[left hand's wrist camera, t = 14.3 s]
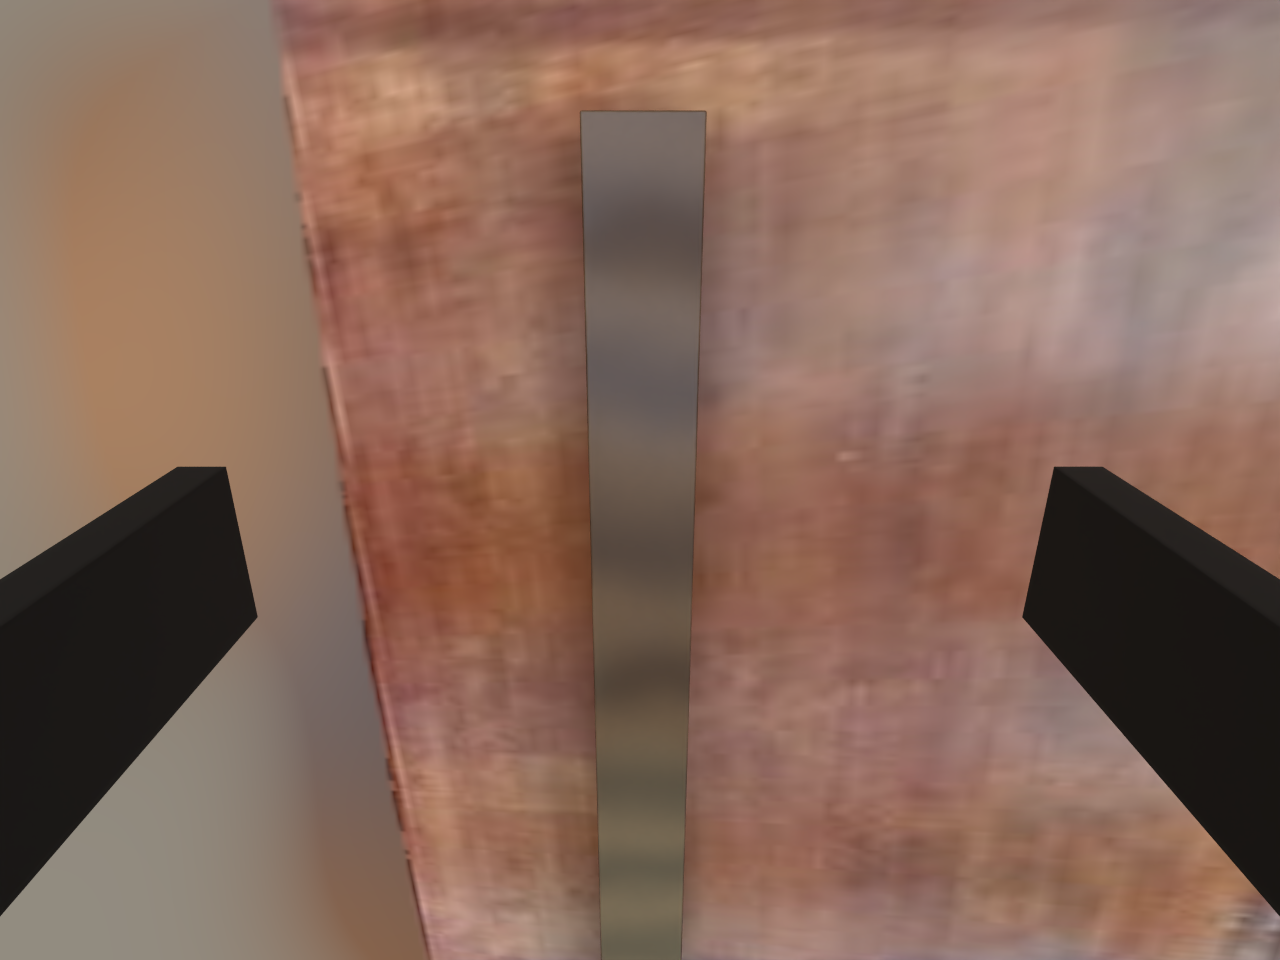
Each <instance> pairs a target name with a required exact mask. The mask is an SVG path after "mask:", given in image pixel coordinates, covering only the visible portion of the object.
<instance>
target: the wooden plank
mask: <svg viewBox="0 0 1280 960" xmlns="http://www.w3.org/2000/svg"><path fill="white" fill-rule="evenodd" d="M706 114H707V112H706V111H580V136H581V176H582V216H583V256H584V296H585V336H586V376H587V415H588V455H589V495H590V535H591V575H592V615H593V655H594V695H595V734H596V774H597V814H598V854H599V894H600V934H601V960H681V952H682V919H683V885H684V852H685V818H686V785H687V751H688V718H689V684H690V651H691V617H692V583H693V550H694V516H695V483H696V449H697V416H698V382H699V349H700V315H701V282H702V248H703V215H704V181H705V148H706Z"/></svg>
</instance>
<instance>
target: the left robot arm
mask: <svg viewBox="0 0 1280 960" xmlns="http://www.w3.org/2000/svg"><path fill="white" fill-rule="evenodd" d="M256 618H257V612H256V607H255V602H254V598H253V593H252V588H251V584H250V579H249V574H248V569H247V565H246V560H245V555H244V550H243V546H242V541H241V536H240V531H239V527H238V522H237V518H236V513H235V508H234V503H233V498H232V494H231V489H230V484H229V479H228V475H227V470H226V467H176V468H175V469H173V470H172V471H170V472H169V473H167V474H166V475H164V476H162V477H161V478H159V479H158V480H156V481H154V482H153V483H151V484H150V485H148V486H147V487H145V488H144V489H142V490H140V491H139V492H137V493H136V494H134V495H132V496H131V497H129V498H128V499H126V500H125V501H123V502H121V503H120V504H118V505H117V506H115V507H114V508H112V509H110V510H109V511H107V512H106V513H104V514H103V515H101V516H99V517H98V518H96V519H95V520H93V521H92V522H90V523H88V524H87V525H85V526H84V527H82V528H81V529H79V530H77V531H76V532H74V533H73V534H71V535H69V536H68V537H66V538H65V539H63V540H62V541H60V542H58V543H57V544H55V545H54V546H52V547H51V548H49V549H47V550H46V551H44V552H43V553H41V554H40V555H38V556H36V557H35V558H33V559H32V560H30V561H29V562H27V563H26V564H24V565H22V566H21V567H19V568H18V569H16V570H15V571H13V572H11V573H10V574H8V575H7V576H5V577H3V578H2V579H0V916H1V915H2V914H3V912H4V911H5V910H6V909H7V908H8V907H9V905H10V904H11V903H12V902H13V901H14V900H15V898H16V897H17V896H18V895H19V894H20V893H21V891H22V890H23V889H24V888H25V887H26V886H27V885H28V883H29V882H30V881H31V880H32V879H33V878H34V876H35V875H36V874H37V873H38V872H39V871H40V869H41V868H42V867H43V866H44V865H45V864H46V862H47V861H48V860H49V859H50V858H51V857H52V855H53V854H54V853H55V852H56V851H57V850H58V848H59V847H60V846H61V845H62V844H63V843H64V842H65V840H66V839H67V838H68V837H69V836H70V834H71V833H72V832H73V831H74V830H75V829H76V828H77V826H78V825H79V824H80V823H81V822H82V821H83V819H84V818H85V817H86V816H87V815H88V814H89V812H90V811H91V810H92V809H93V808H94V807H95V805H96V804H97V803H98V802H99V801H100V800H101V798H102V797H103V796H104V795H105V794H106V793H107V792H108V790H109V789H110V788H111V787H112V786H113V785H114V783H115V782H116V781H117V780H118V779H119V778H120V776H121V775H122V774H123V773H124V772H125V771H126V769H127V768H128V767H129V766H130V765H131V764H132V762H133V761H134V760H135V759H136V758H137V757H138V756H139V754H140V753H141V752H142V751H143V750H144V749H145V747H146V746H147V745H148V744H149V743H150V742H151V740H152V739H153V738H154V737H155V736H156V735H157V733H158V732H159V731H160V730H161V729H162V728H163V726H164V725H165V724H166V723H167V722H168V721H169V720H170V718H171V717H172V716H173V715H174V714H175V712H176V711H177V710H178V709H179V708H180V707H181V706H182V704H183V703H184V702H185V701H186V700H187V699H188V697H189V696H190V695H191V694H192V693H193V692H194V690H195V689H196V688H197V687H198V686H199V685H200V683H201V682H202V681H203V680H204V679H205V678H206V677H207V675H208V674H209V673H210V672H211V671H212V670H213V668H214V667H215V666H216V665H217V664H218V663H219V661H220V660H221V659H222V658H223V657H224V656H225V654H226V653H227V652H228V651H229V650H230V649H231V647H232V646H233V645H234V644H235V643H236V642H237V640H238V639H239V638H240V637H241V636H242V635H243V634H244V632H245V631H246V630H247V629H248V628H249V627H250V625H251V624H252V623H253V622H254V621H255V620H256ZM1023 618H1024V620H1025V621H1026V622H1027V623H1028V624H1029V625H1030V627H1031V628H1032V629H1033V630H1034V631H1035V632H1036V634H1037V635H1038V636H1039V637H1040V638H1041V639H1042V640H1043V642H1044V643H1045V644H1046V645H1047V646H1048V647H1049V649H1050V650H1051V651H1052V652H1053V653H1054V654H1055V656H1056V657H1057V658H1058V659H1059V660H1060V661H1061V663H1062V664H1063V665H1064V666H1065V667H1066V668H1067V670H1068V671H1069V672H1070V673H1071V674H1072V675H1073V677H1074V678H1075V679H1076V680H1077V681H1078V682H1079V683H1080V685H1081V686H1082V687H1083V688H1084V689H1085V690H1086V692H1087V693H1088V694H1089V695H1090V696H1091V697H1092V699H1093V700H1094V701H1095V702H1096V703H1097V704H1098V706H1099V707H1100V708H1101V709H1102V710H1103V711H1104V713H1105V714H1106V715H1107V716H1108V717H1109V718H1110V720H1111V721H1112V722H1113V723H1114V724H1115V725H1116V726H1117V728H1118V729H1119V730H1120V731H1121V732H1122V733H1123V735H1124V736H1125V737H1126V738H1127V739H1128V740H1129V742H1130V743H1131V744H1132V745H1133V746H1134V747H1135V749H1136V750H1137V751H1138V752H1139V753H1140V754H1141V756H1142V757H1143V758H1144V759H1145V760H1146V761H1147V763H1148V764H1149V765H1150V766H1151V767H1152V768H1153V769H1154V771H1155V772H1156V773H1157V774H1158V775H1159V776H1160V778H1161V779H1162V780H1163V781H1164V782H1165V783H1166V785H1167V786H1168V787H1169V788H1170V789H1171V790H1172V792H1173V793H1174V794H1175V795H1176V796H1177V797H1178V799H1179V800H1180V801H1181V802H1182V803H1183V804H1184V805H1185V807H1186V808H1187V809H1188V810H1189V811H1190V812H1191V814H1192V815H1193V816H1194V817H1195V818H1196V819H1197V821H1198V822H1199V823H1200V824H1201V825H1202V826H1203V828H1204V829H1205V830H1206V831H1207V832H1208V833H1209V835H1210V836H1211V837H1212V838H1213V839H1214V840H1215V842H1216V843H1217V844H1218V845H1219V846H1220V847H1221V848H1222V850H1223V851H1224V852H1225V853H1226V854H1227V855H1228V857H1229V858H1230V859H1231V860H1232V861H1233V862H1234V864H1235V865H1236V866H1237V867H1238V868H1239V869H1240V871H1241V872H1242V873H1243V874H1244V875H1245V876H1246V878H1247V879H1248V880H1249V881H1250V882H1251V883H1252V885H1253V886H1254V887H1255V888H1256V889H1257V890H1258V891H1259V893H1260V894H1261V895H1262V896H1263V897H1264V898H1265V900H1266V901H1267V902H1268V903H1269V904H1270V905H1271V907H1272V908H1273V909H1274V910H1275V911H1276V912H1277V914H1278V915H1279V916H1280V579H1278V578H1277V577H1275V576H1273V575H1272V574H1270V573H1269V572H1267V571H1266V570H1264V569H1262V568H1261V567H1259V566H1258V565H1256V564H1255V563H1253V562H1251V561H1250V560H1248V559H1247V558H1245V557H1244V556H1242V555H1240V554H1239V553H1237V552H1236V551H1234V550H1233V549H1231V548H1229V547H1228V546H1226V545H1225V544H1223V543H1222V542H1220V541H1218V540H1217V539H1215V538H1214V537H1212V536H1211V535H1209V534H1207V533H1206V532H1204V531H1203V530H1201V529H1200V528H1198V527H1196V526H1195V525H1193V524H1192V523H1190V522H1189V521H1187V520H1185V519H1184V518H1182V517H1181V516H1179V515H1177V514H1176V513H1174V512H1173V511H1171V510H1170V509H1168V508H1166V507H1165V506H1163V505H1162V504H1160V503H1159V502H1157V501H1155V500H1154V499H1152V498H1151V497H1149V496H1148V495H1146V494H1144V493H1143V492H1141V491H1140V490H1138V489H1137V488H1135V487H1133V486H1132V485H1130V484H1129V483H1127V482H1126V481H1124V480H1122V479H1121V478H1119V477H1118V476H1116V475H1115V474H1113V473H1111V472H1110V471H1108V470H1107V469H1105V468H1104V467H1054V470H1053V475H1052V479H1051V484H1050V489H1049V494H1048V498H1047V503H1046V508H1045V512H1044V517H1043V522H1042V527H1041V531H1040V536H1039V541H1038V546H1037V550H1036V555H1035V560H1034V565H1033V569H1032V574H1031V579H1030V583H1029V588H1028V593H1027V598H1026V602H1025V607H1024V612H1023Z"/></svg>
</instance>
